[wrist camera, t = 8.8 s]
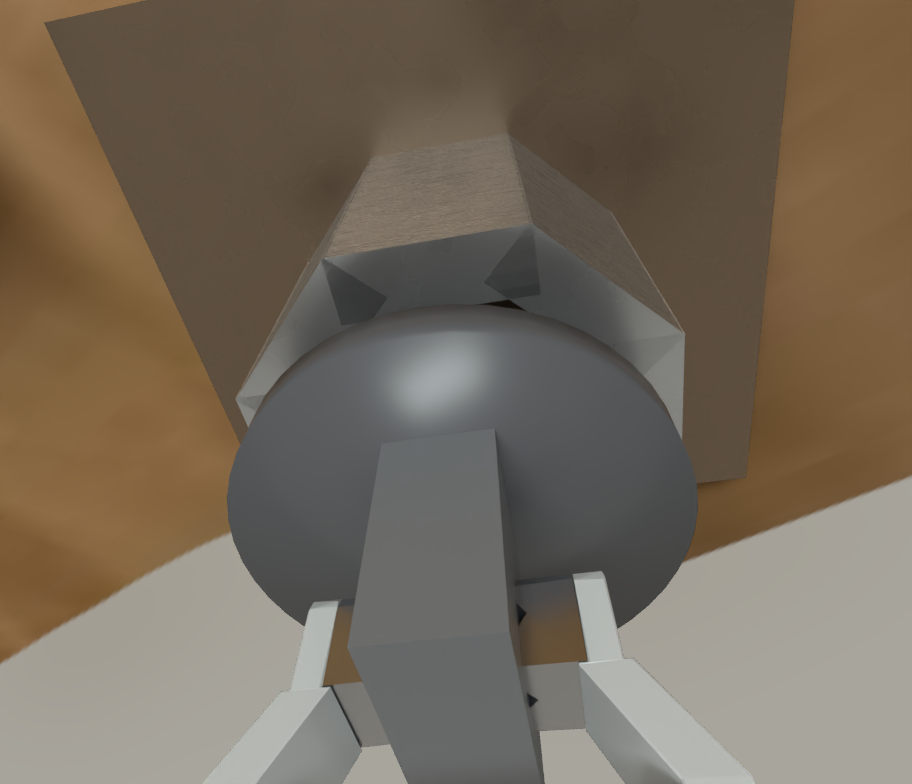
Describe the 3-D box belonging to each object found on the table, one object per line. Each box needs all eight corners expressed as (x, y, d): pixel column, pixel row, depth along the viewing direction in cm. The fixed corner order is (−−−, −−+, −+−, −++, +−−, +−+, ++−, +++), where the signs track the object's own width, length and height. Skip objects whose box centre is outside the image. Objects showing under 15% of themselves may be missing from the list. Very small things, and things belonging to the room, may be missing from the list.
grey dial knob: (657, 223, 12) (844, 468, 6) (656, 549, 17) (759, 855, 11) (205, 297, 13) (-7, 571, 7) (330, 585, 18) (267, 886, 12)
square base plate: (783, -138, 16) (1080, -236, 8) (732, 454, 27) (842, 651, 19) (72, 18, 18) (-220, 56, 11) (289, 509, 29) (226, 707, 22)
